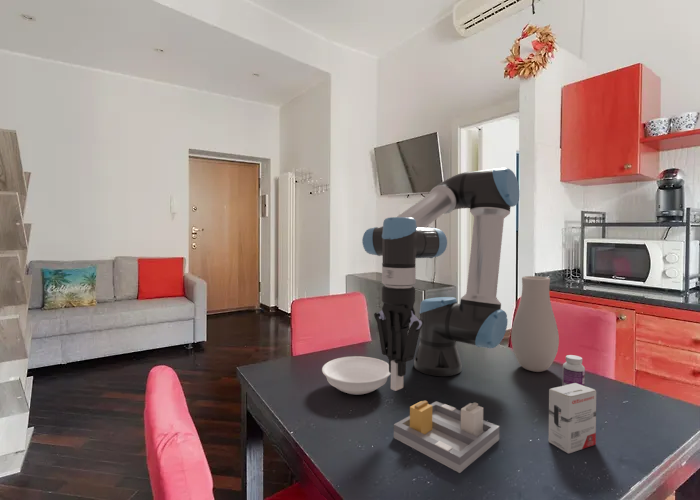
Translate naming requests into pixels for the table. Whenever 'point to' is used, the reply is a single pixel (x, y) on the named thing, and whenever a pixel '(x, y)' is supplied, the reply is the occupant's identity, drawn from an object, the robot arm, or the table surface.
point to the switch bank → (448, 438)
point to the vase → (535, 326)
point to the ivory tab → (472, 419)
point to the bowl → (356, 374)
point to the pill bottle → (573, 371)
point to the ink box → (572, 417)
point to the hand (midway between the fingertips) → (396, 388)
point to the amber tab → (421, 417)
